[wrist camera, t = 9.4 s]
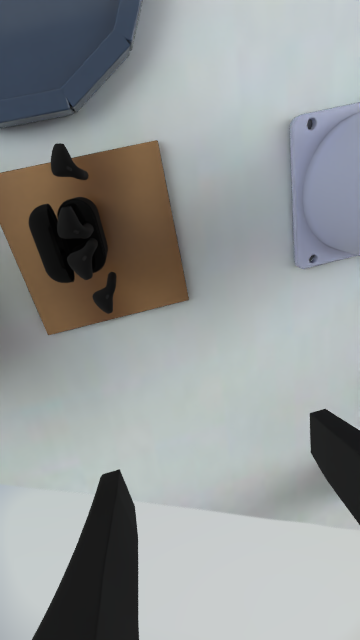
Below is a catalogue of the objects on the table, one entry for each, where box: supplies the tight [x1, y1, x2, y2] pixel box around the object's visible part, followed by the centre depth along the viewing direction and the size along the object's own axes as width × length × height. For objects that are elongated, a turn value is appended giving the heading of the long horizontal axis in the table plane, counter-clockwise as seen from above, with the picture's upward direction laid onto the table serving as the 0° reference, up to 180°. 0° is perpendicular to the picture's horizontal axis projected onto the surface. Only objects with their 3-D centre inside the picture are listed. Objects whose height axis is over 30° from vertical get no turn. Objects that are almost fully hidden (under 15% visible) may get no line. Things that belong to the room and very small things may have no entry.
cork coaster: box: [0, 140, 189, 335], centre depth 16 cm, size 8×8×1 cm
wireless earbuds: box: [29, 144, 117, 314], centre depth 13 cm, size 7×2×5 cm, turn 10°
